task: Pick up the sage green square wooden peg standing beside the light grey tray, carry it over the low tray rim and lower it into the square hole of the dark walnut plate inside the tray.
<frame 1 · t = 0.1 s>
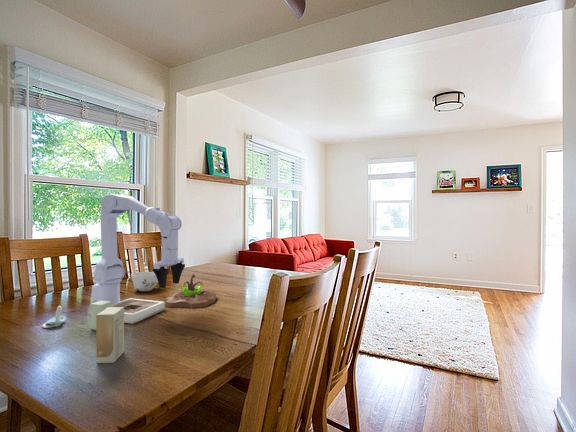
hand: (169, 285, 118), 10 cm above the table, tool pointing down, fingers open, 7 cm apart
plant: (192, 302, 134), on the table
pacifier: (53, 326, 104), on the table
teacup: (145, 289, 153), on the table
peg: (101, 327, 102), on the table
hole plate: (131, 309, 116), in the tray, point 1 cm above the table
skincare box: (110, 358, 81), on the table
tray: (131, 313, 116), on the table
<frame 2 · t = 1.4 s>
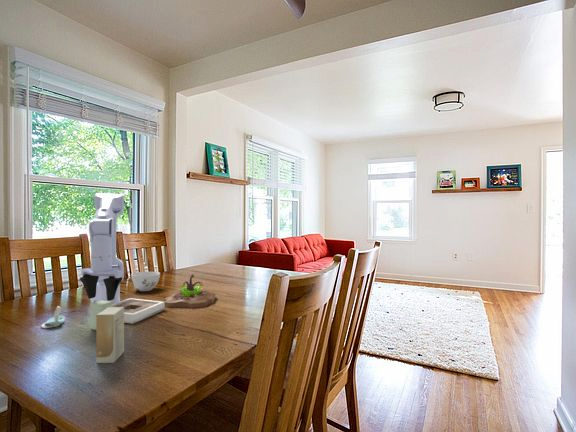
hand: (101, 298, 102), 9 cm above the table, tool pointing down, fingers open, 7 cm apart
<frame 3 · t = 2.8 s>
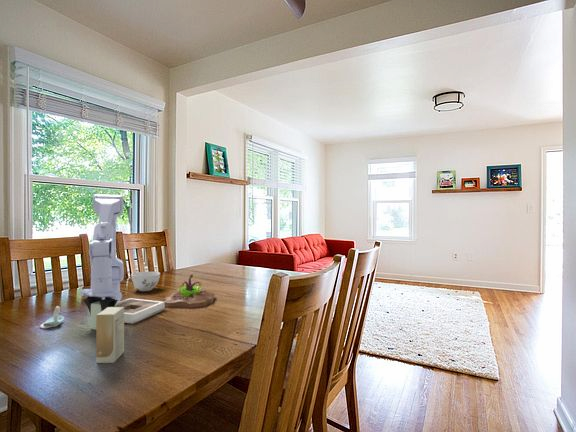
hand: (101, 319, 102), 2 cm above the table, tool pointing down, fingers closed on peg, 4 cm apart
peg: (101, 327, 102), on the table, touching gripper
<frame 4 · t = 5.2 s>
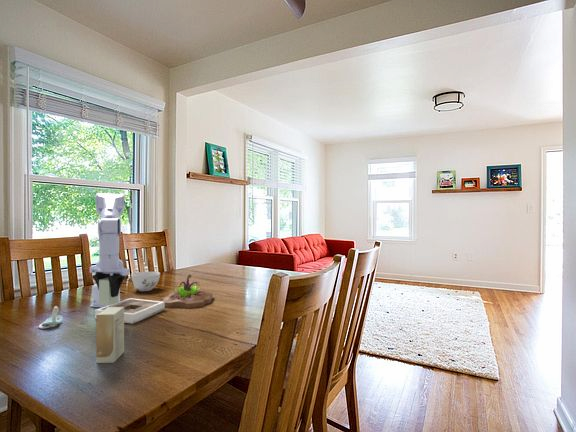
hand: (109, 295, 105), 9 cm above the table, tool pointing down, fingers closed on peg, 4 cm apart
peg: (108, 303, 105), point 7 cm above the table, touching gripper
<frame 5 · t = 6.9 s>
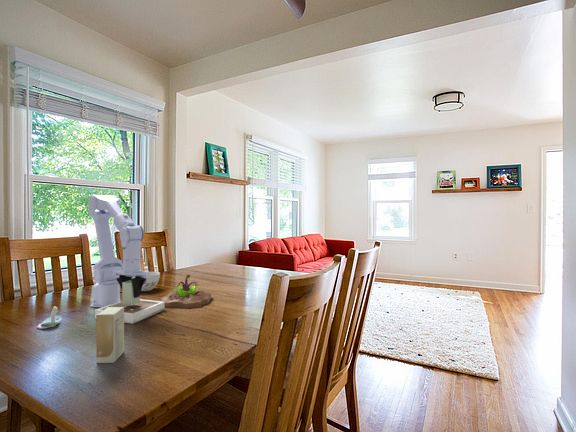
hand: (131, 296, 116), 6 cm above the table, tool pointing down, fingers closed on peg, 4 cm apart
peg: (131, 303, 116), point 4 cm above the table, touching gripper
when the fingers open (4 cm above the table, at t = 7.9 s): peg stays where it is, resting on tray.
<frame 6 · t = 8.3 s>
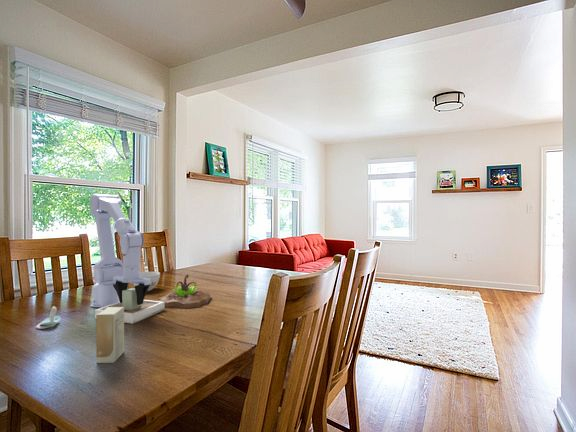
hand: (131, 303, 116), 4 cm above the table, tool pointing down, fingers open, 7 cm apart
peg: (130, 311, 116), point 1 cm above the table, touching tray
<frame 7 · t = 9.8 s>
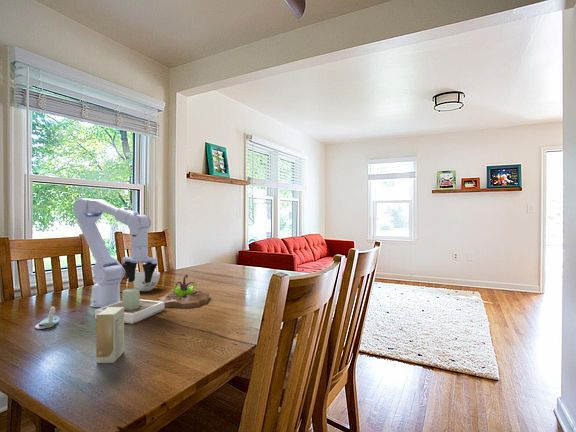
hand: (139, 281, 122), 10 cm above the table, tool pointing down, fingers open, 7 cm apart
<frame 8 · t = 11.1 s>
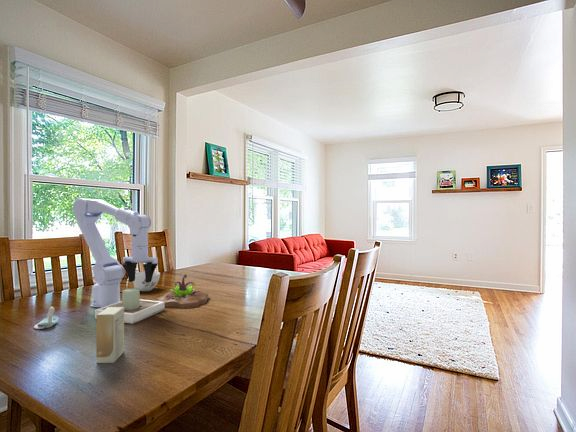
hand: (140, 281, 122), 10 cm above the table, tool pointing down, fingers open, 7 cm apart
at the end: peg 0.2 cm off-centre on the tray, point 0.8 cm above the tray's base; peg tilted 0°; the gripper is holding nothing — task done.
